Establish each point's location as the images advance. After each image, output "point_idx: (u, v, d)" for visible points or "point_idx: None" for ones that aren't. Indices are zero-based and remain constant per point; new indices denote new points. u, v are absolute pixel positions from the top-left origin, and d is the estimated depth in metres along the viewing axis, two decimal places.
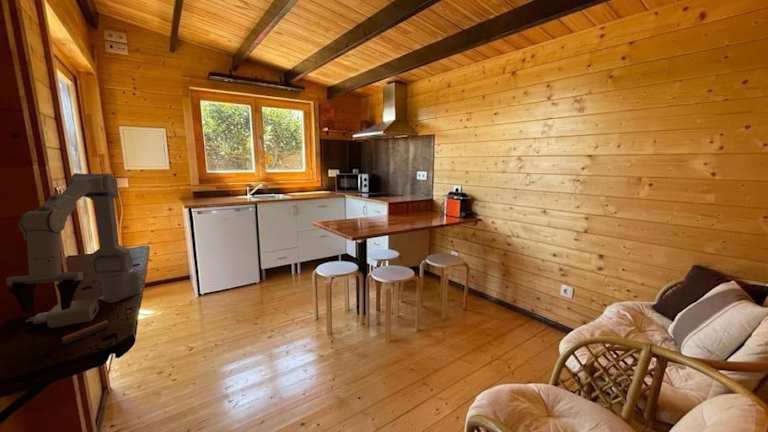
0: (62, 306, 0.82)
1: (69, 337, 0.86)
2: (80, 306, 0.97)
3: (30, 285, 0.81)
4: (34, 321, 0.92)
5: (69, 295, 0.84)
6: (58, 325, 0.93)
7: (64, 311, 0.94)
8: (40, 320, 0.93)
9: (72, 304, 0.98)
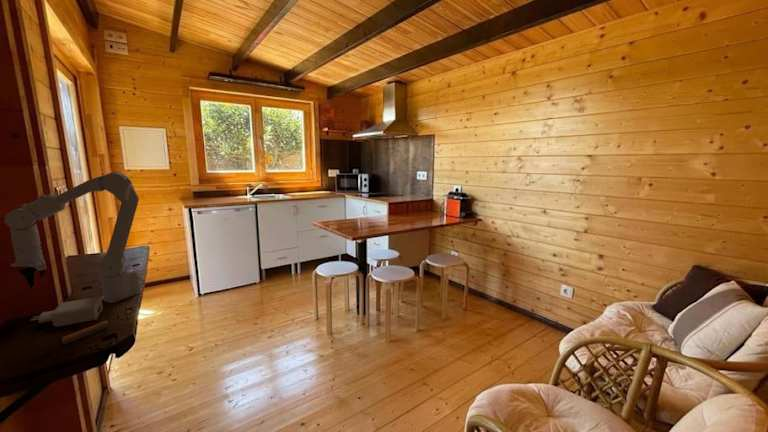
0: None
1: (69, 337, 0.86)
2: (85, 305, 0.98)
3: None
4: (39, 320, 0.93)
5: None
6: (63, 324, 0.94)
7: (69, 310, 0.95)
8: (45, 319, 0.93)
9: (77, 303, 0.99)
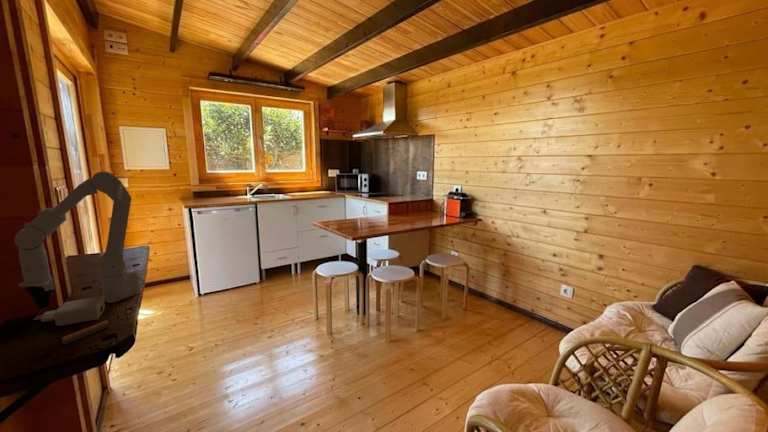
0: (37, 306, 1.00)
1: (69, 337, 0.86)
2: (87, 304, 0.98)
3: None
4: (42, 319, 0.93)
5: (45, 297, 1.01)
6: (66, 323, 0.94)
7: (71, 309, 0.95)
8: (48, 318, 0.94)
9: (79, 302, 0.99)
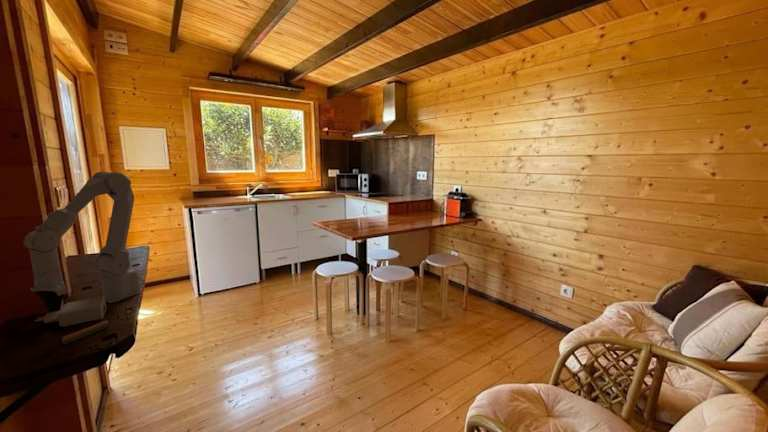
0: (49, 311, 0.97)
1: (69, 337, 0.86)
2: (91, 304, 0.98)
3: None
4: (45, 320, 0.93)
5: (57, 301, 0.98)
6: (70, 323, 0.94)
7: (75, 309, 0.95)
8: (51, 319, 0.93)
9: (81, 303, 0.99)
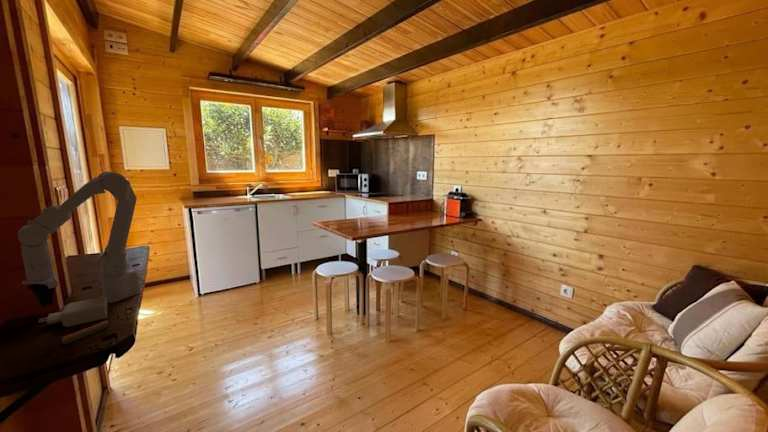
0: (40, 304, 0.99)
1: (69, 337, 0.86)
2: (94, 304, 0.98)
3: None
4: (48, 321, 0.92)
5: (48, 295, 1.00)
6: (74, 324, 0.94)
7: (79, 309, 0.95)
8: (54, 320, 0.93)
9: (84, 303, 0.99)
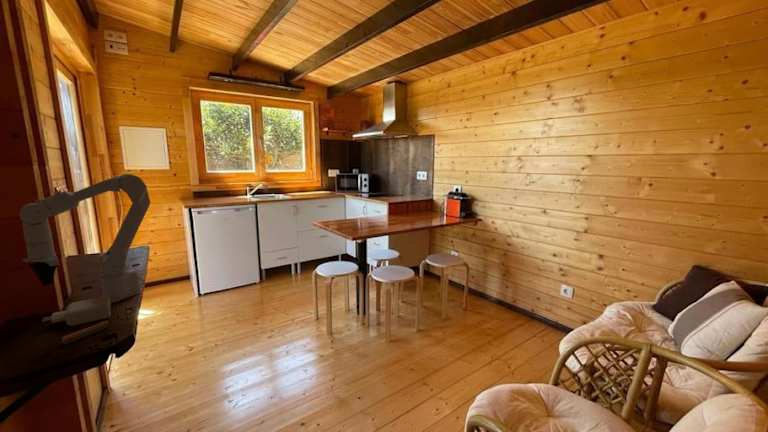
0: (41, 282, 0.99)
1: (69, 337, 0.86)
2: (97, 303, 0.99)
3: None
4: (52, 320, 0.93)
5: (49, 273, 1.00)
6: (78, 323, 0.95)
7: (83, 309, 0.96)
8: (58, 319, 0.94)
9: (87, 302, 1.00)
